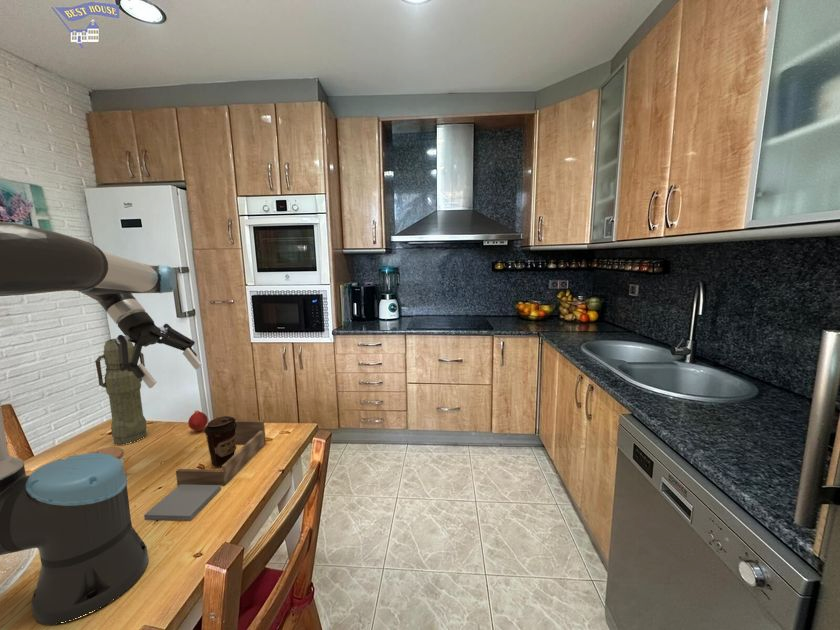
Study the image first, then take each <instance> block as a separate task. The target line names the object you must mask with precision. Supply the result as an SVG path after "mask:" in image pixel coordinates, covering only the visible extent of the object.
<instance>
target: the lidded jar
mask: <svg viewBox="0 0 840 630" xmlns="http://www.w3.org/2000/svg"><path fill="white" fill-rule="evenodd" d="M88 453H104V454H110V455H113V456H115V457H116V458H118V459H119V460H120V461H121V462H122V464H123V466H124V464H125V459H124V458H125V457H124V453H125V452H124V449H123V447H118V446H112V447H103V448H99V449H96V450H95V449H94V450H93V451H89V452H87V453H85V454H88Z"/></svg>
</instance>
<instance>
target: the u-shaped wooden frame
mask: <svg viewBox="0 0 840 630" xmlns="http://www.w3.org/2000/svg"><path fill="white" fill-rule="evenodd" d="M235 423H236V428H235V433H236V446H240V445H241V446H242V447H240V448H239V449H238V450H237V452H236V451H235V452H236V453H235V452H234V455H233V456H232V457H231V458H230V459H229V460H228V461H227V462H226V463H224V464H223V465H222V467H221V469H218V468H217V469H215V468H213V469H212V468H207V469H205V468H204V469H203V468H201V469H198V468H177V469H176V470H175V475H176V484H177V486H179V485H221V487H223V486H224V487H225V486H226V485H227V484H228V483H229V482H230V481H231V480H232V479H233V478H234V477H235V476H236V474H237V473H239V472H240V471H241V469H243V468H244V466H246V464H247V463H248V462H249V461H250V460H251V459H252V458H253V457H254V456H255V455H256V454H257V453H258V452H259V451H260V450H261V449H262V448H263V447H264V446H265V444H266V431H265V421H264V420H243V419H242V420H237V419H236V420H235Z"/></svg>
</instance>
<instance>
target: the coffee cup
mask: <svg viewBox="0 0 840 630" xmlns="http://www.w3.org/2000/svg"><path fill="white" fill-rule="evenodd" d="M235 420H237V419H236V418H235V417H233V416H228V415H225V416H220V417H217V418H213V419H211V420H210V421H208V423H207V425H206V426H205V427H204V431H203V432H204V433H205V434H204V435H205V437H206V442H207V448H208V452H209V456H210V462H211V466H212V467H213V468H217V469H218V468H222V465H223V464H224V463H226V462H227V461H228V460H229V459H230V458H231V457H232V456H233V455H234V454H235V452H236V449H237V445H236V433H235V428H236V423H235Z"/></svg>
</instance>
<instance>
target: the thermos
mask: <svg viewBox="0 0 840 630" xmlns="http://www.w3.org/2000/svg"><path fill="white" fill-rule="evenodd" d="M116 339H117V337H116V338H112V339H108V340H106V341H105V342H104V346H103V348H104V349H103V354H101V355H99V356H98V357H97V358H96V359H95V361H94V363H95V366H96V373H97V380H98V386H100V387H102V388H105V392H106V394H107V395H108V399H109V405H110V412H111V420H112V421H111V425H110V431H111V437H112V438H113V444H114V443H115V444H126V443H130V442H134V441H137V440H139V439H141V438H143V437H145V436H146V434H147V435H148V433H147V419H146V418H145V416H144V412H143V411H144V410H143V403H142V397H141V388H142V381H143V380H142V378H140V379H138V378H137V377H136V376H135V375H134V373H133V372H132V371H131V372H129V371H127V370H124V371H121V370H119V356H118V346H117V345H116V343H115V340H116ZM134 345H135V344H134V343H133V342H130V341H128V342H127V347H128V361H129V363H130V360H131V357H132V353H133V350H134V349H133V348H134ZM144 357H145V356H144V353H143V352H141V353H140V357H139V362H140V363H139V364H143V366H144V367H145V365H146V364H145V358H144ZM102 359H104V365H105V374H104V379H103V373H102V367H101V360H102ZM145 368H146V367H145ZM146 437H147V436H146ZM146 437H145V438H146ZM115 444H114V445H115Z"/></svg>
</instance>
